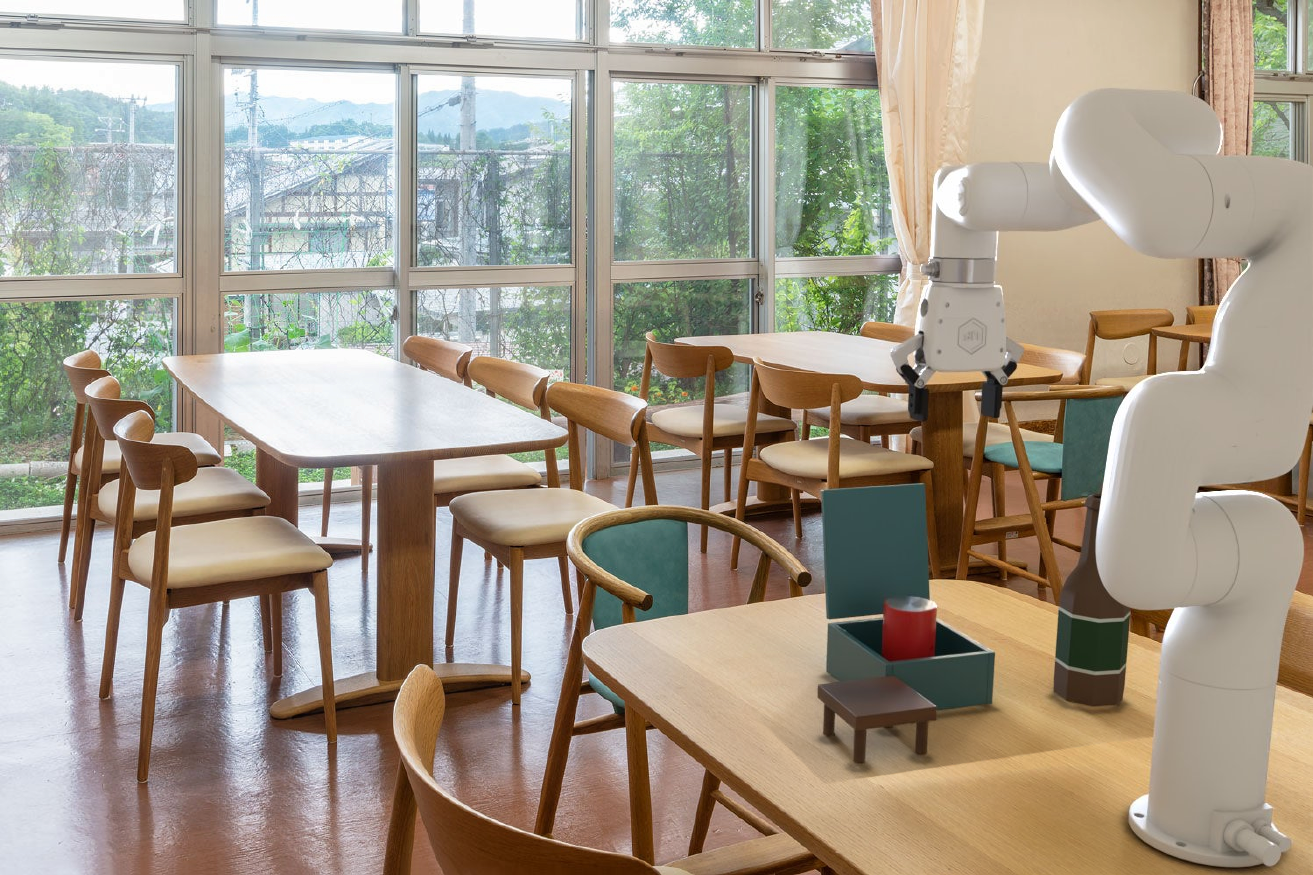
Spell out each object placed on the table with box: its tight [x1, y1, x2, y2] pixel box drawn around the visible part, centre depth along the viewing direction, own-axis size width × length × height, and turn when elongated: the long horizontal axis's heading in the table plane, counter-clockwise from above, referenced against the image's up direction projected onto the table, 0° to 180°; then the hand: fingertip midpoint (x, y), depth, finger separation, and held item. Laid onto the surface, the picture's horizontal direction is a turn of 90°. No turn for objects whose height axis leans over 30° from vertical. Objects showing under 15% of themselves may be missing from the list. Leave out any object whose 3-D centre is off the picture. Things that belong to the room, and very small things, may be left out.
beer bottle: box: [1053, 493, 1132, 707], centre depth 144 cm, size 8×8×24 cm
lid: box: [820, 483, 931, 621], centre depth 153 cm, size 15×14×1 cm
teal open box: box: [825, 617, 996, 712], centre depth 147 cm, size 15×14×7 cm
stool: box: [816, 676, 938, 765], centre depth 131 cm, size 9×9×6 cm
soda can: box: [882, 596, 938, 662], centre depth 146 cm, size 6×6×10 cm
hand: (954, 418), depth 151 cm, fingers open, 9 cm apart
